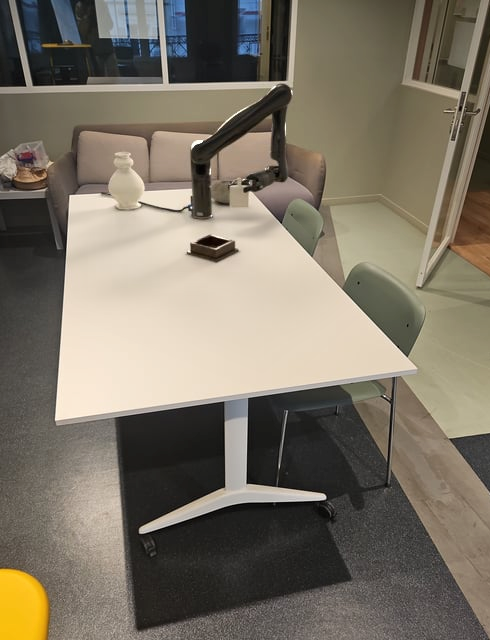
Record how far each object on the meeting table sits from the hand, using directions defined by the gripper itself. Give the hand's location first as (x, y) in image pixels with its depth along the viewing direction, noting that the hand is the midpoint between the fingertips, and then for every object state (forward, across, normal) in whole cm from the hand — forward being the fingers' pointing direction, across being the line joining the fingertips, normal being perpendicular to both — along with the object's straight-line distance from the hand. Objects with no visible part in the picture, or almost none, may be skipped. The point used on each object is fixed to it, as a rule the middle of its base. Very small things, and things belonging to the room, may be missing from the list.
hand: (236, 188), depth 211 cm
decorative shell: (-41, -35, +20) cm, 58 cm away
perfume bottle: (-2, 0, +8) cm, 8 cm away
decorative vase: (-4, -70, +20) cm, 73 cm away
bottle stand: (+23, +5, +20) cm, 31 cm away
